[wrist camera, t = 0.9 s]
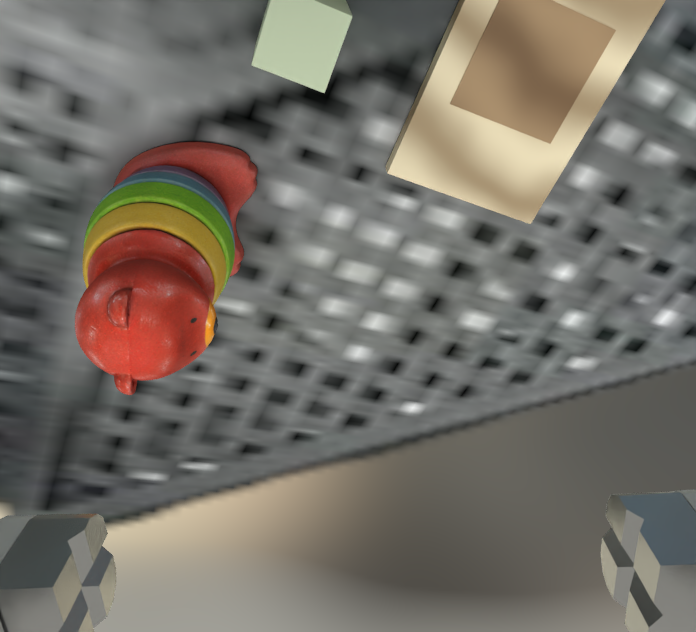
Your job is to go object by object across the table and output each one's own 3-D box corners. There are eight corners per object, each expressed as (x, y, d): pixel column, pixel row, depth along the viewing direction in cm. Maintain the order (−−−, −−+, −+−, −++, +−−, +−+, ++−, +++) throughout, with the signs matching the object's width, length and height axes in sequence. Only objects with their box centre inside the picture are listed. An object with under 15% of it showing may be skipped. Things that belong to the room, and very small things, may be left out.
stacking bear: (239, 279, 51) (218, 441, 37) (107, 256, 49) (30, 418, 35) (262, 152, 46) (249, 285, 31) (114, 120, 44) (25, 246, 29)
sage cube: (277, -30, 39) (275, -17, 35) (345, -1, 40) (352, 16, 36) (255, 43, 42) (251, 65, 37) (321, 69, 43) (324, 93, 38)
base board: (524, -148, 37) (531, -148, 36) (689, -59, 40) (700, -58, 39) (385, 166, 47) (387, 173, 46) (525, 217, 50) (531, 224, 49)
